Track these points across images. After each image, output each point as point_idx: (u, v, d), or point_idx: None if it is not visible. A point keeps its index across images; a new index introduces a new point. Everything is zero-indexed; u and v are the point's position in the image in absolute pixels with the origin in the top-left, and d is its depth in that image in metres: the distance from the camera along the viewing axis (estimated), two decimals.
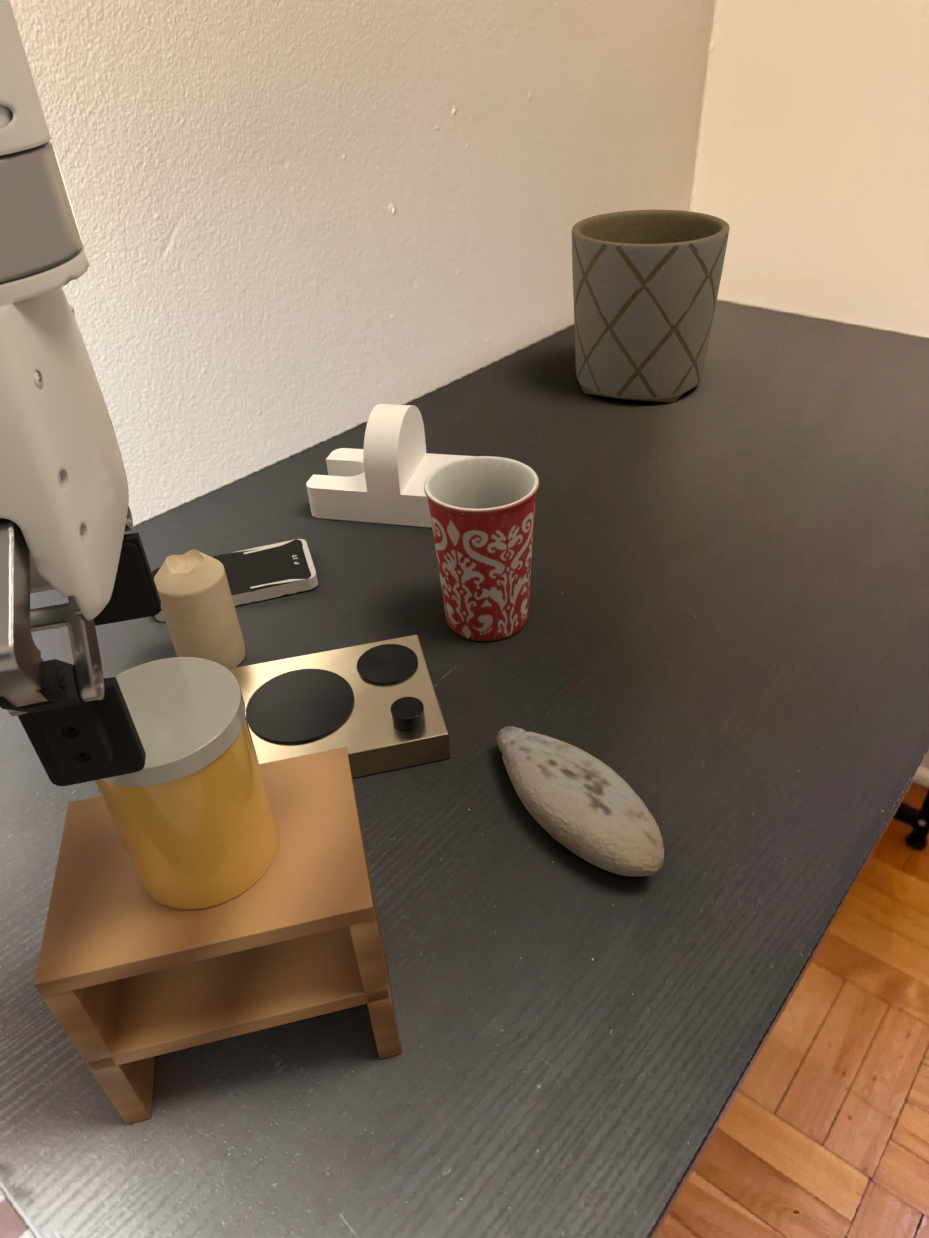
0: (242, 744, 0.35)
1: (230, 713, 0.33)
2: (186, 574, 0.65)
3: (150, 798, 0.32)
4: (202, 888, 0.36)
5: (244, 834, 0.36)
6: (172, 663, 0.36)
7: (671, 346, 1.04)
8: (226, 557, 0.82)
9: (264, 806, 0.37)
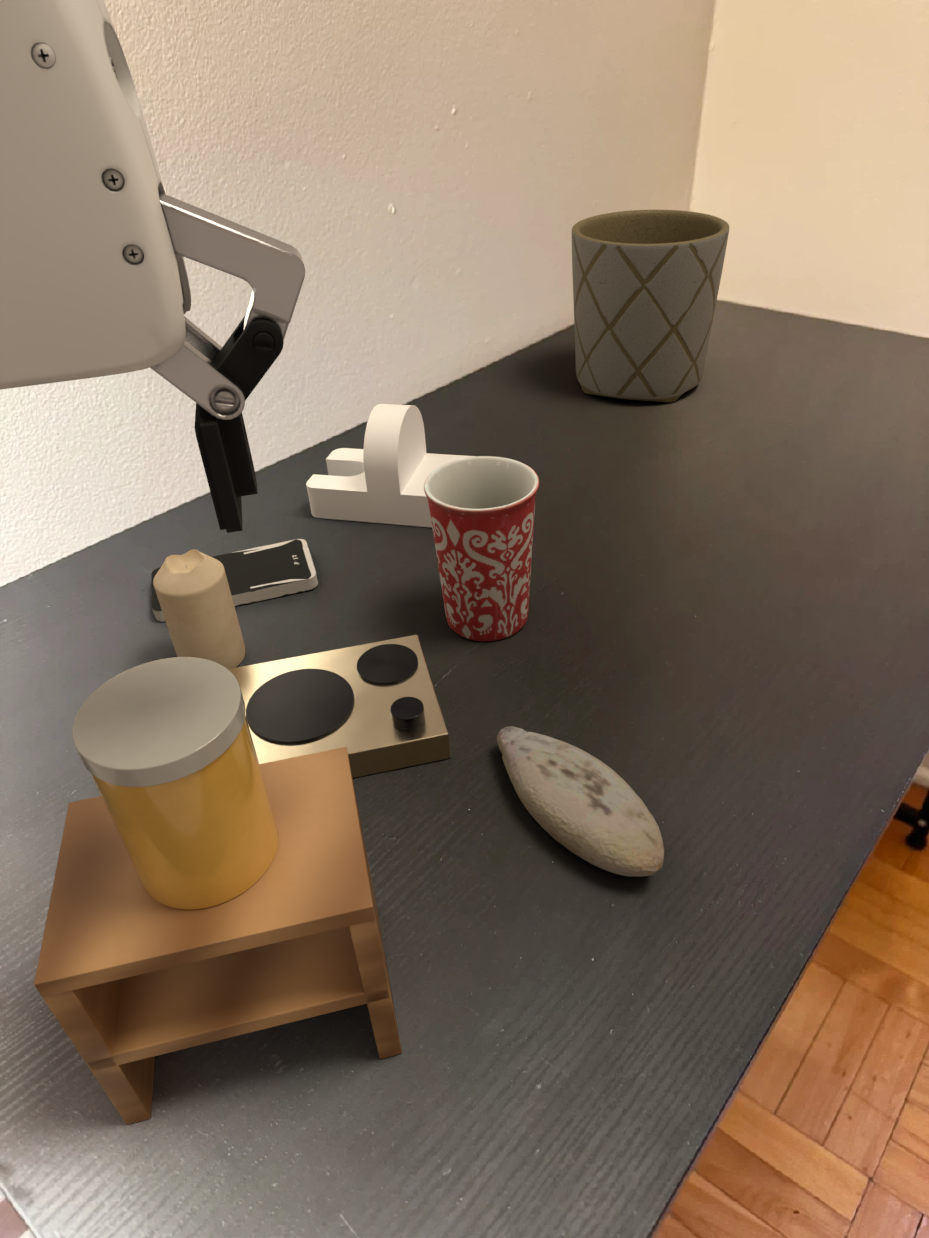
0: (242, 744, 0.35)
1: (230, 713, 0.33)
2: (186, 574, 0.65)
3: (150, 798, 0.32)
4: (202, 888, 0.36)
5: (244, 834, 0.36)
6: (172, 663, 0.36)
7: (671, 346, 1.04)
8: (226, 557, 0.82)
9: (264, 806, 0.37)
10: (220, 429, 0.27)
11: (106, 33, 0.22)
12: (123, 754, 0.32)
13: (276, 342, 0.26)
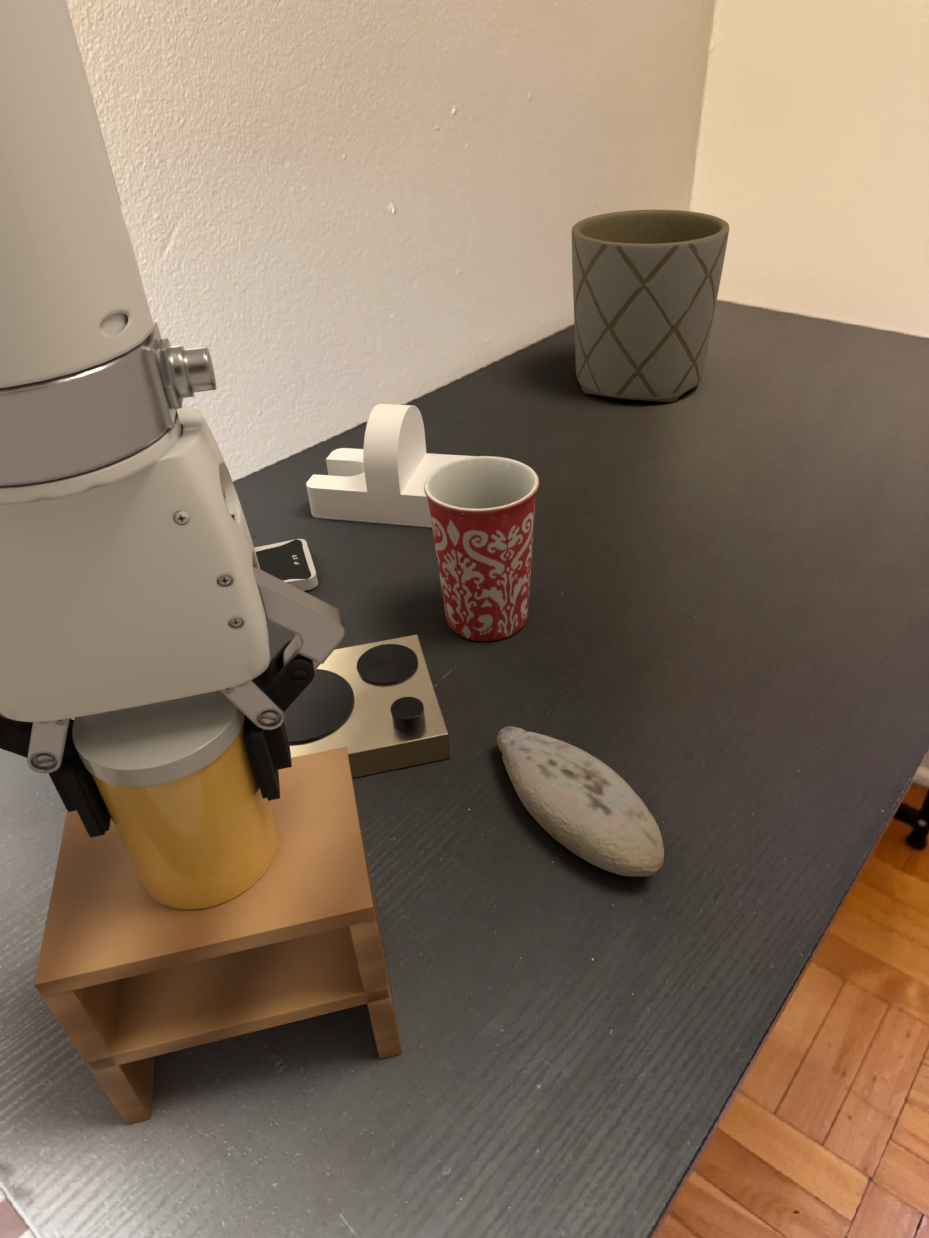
0: (242, 744, 0.35)
1: (230, 713, 0.33)
2: None
3: (150, 798, 0.32)
4: (202, 888, 0.36)
5: (244, 834, 0.36)
6: None
7: (671, 346, 1.04)
8: None
9: (264, 806, 0.37)
10: (264, 731, 0.35)
11: None
12: (123, 754, 0.32)
13: (309, 673, 0.34)
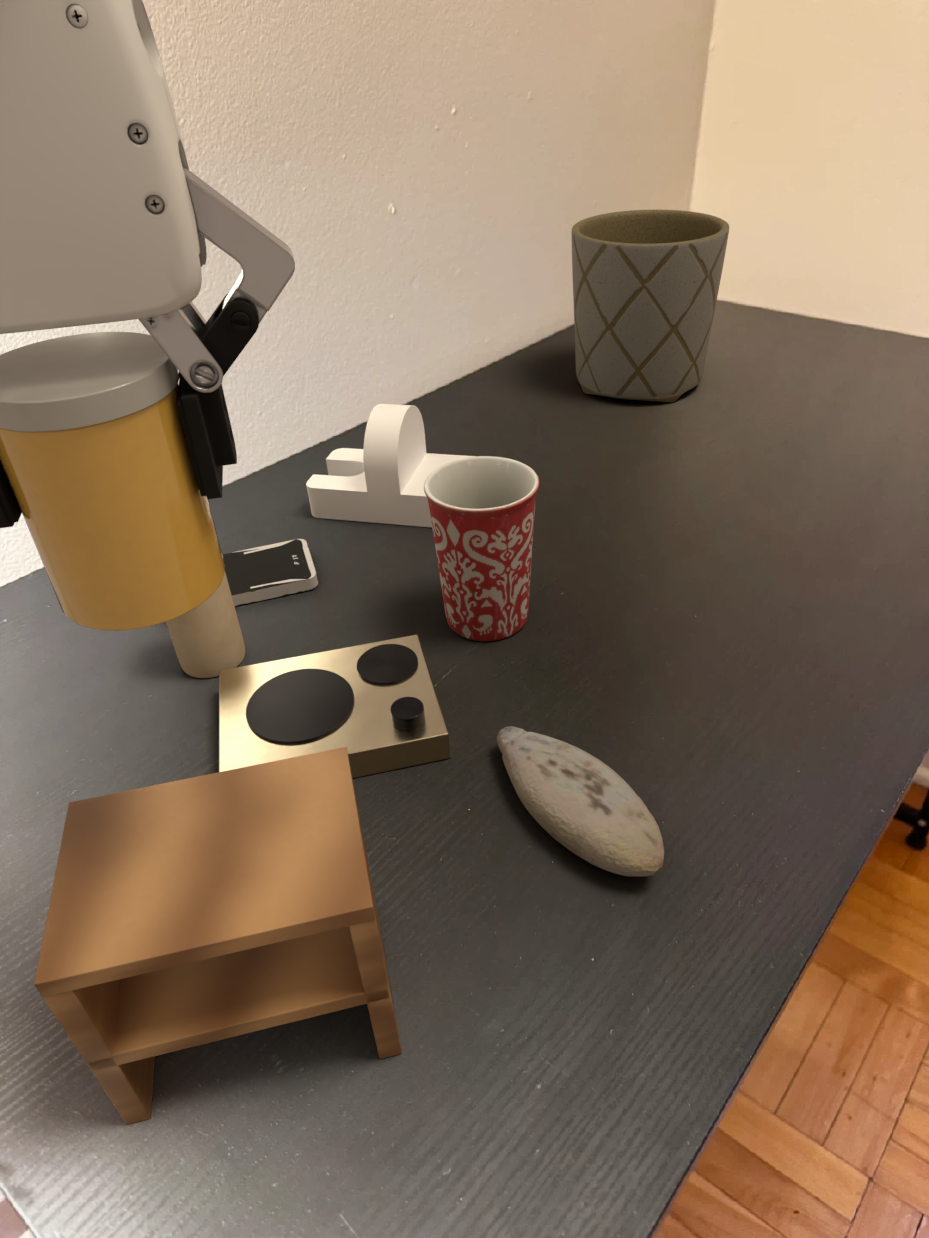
0: (174, 415, 0.29)
1: (157, 364, 0.28)
2: None
3: (57, 452, 0.27)
4: (128, 599, 0.31)
5: (177, 534, 0.30)
6: (96, 336, 0.31)
7: (671, 346, 1.04)
8: (226, 557, 0.82)
9: (204, 515, 0.32)
10: (201, 402, 0.29)
11: None
12: (23, 393, 0.26)
13: (252, 320, 0.28)
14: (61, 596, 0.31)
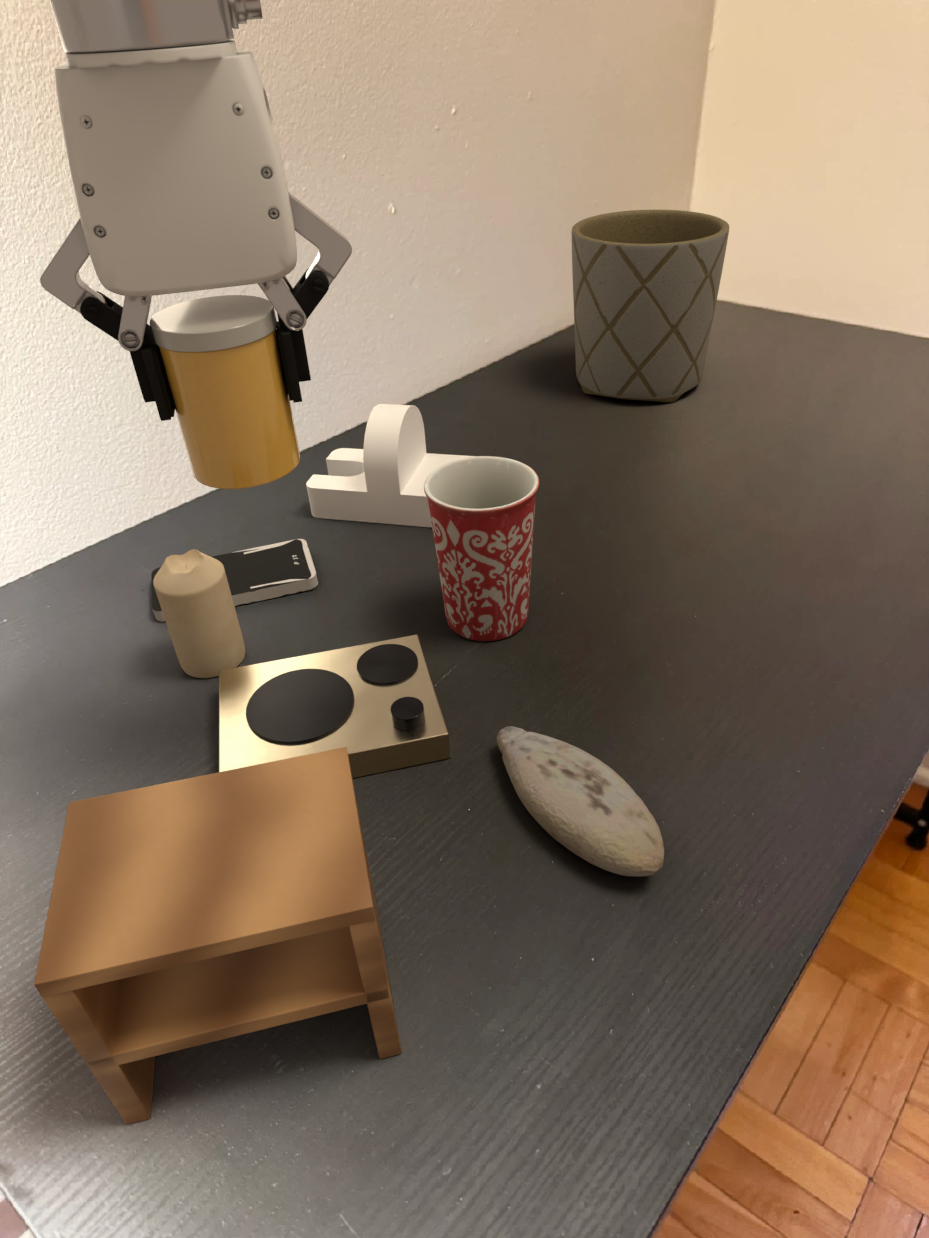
0: (275, 345, 0.46)
1: (266, 312, 0.45)
2: (186, 574, 0.65)
3: (208, 365, 0.44)
4: (244, 466, 0.48)
5: (275, 424, 0.47)
6: (220, 297, 0.48)
7: (671, 346, 1.04)
8: (226, 557, 0.82)
9: (290, 414, 0.49)
10: (291, 337, 0.46)
11: None
12: (189, 328, 0.43)
13: (325, 285, 0.45)
14: (199, 467, 0.48)
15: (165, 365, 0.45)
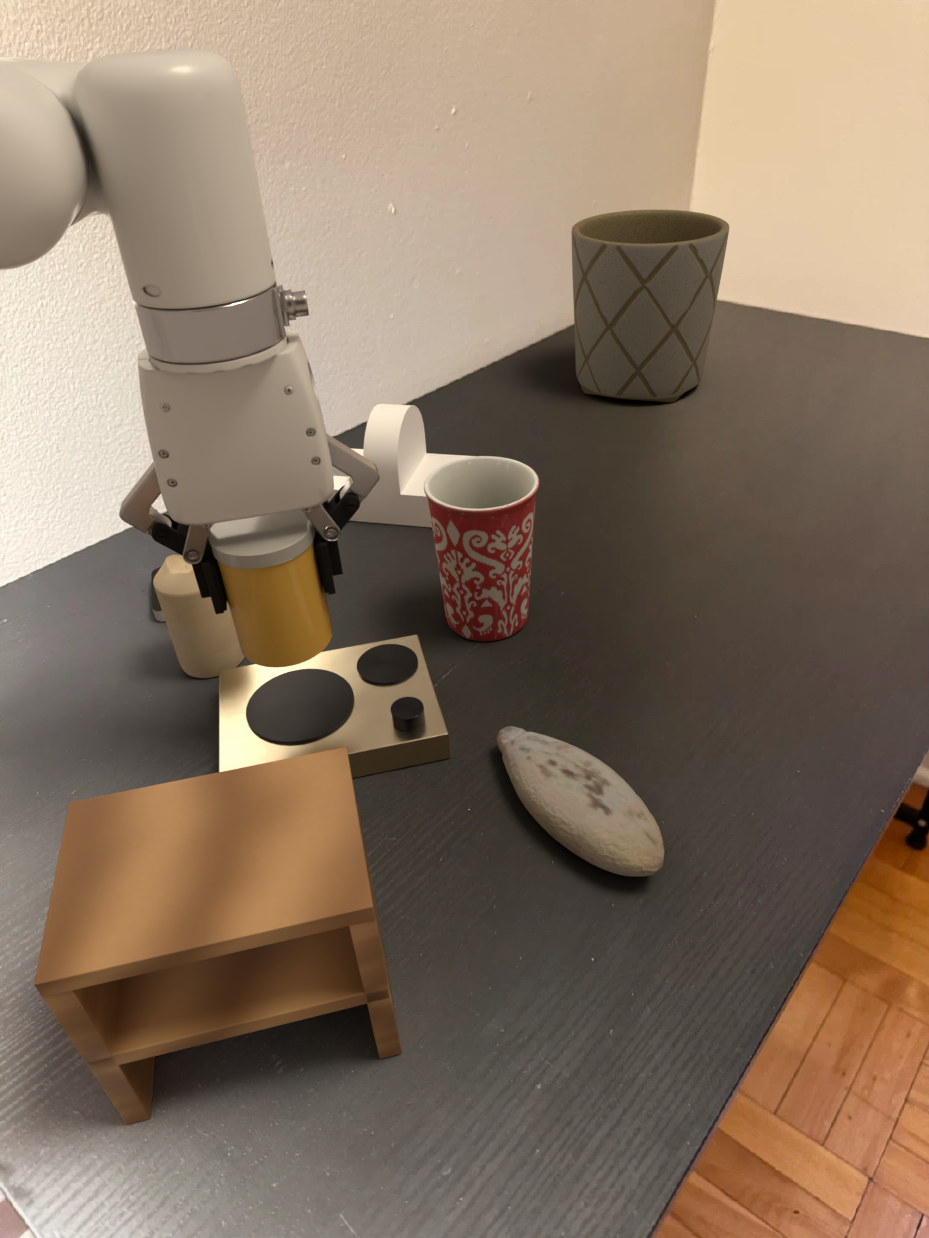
0: (313, 552, 0.54)
1: (307, 528, 0.53)
2: (186, 574, 0.65)
3: (259, 577, 0.52)
4: (286, 650, 0.56)
5: (313, 614, 0.55)
6: None
7: (671, 346, 1.04)
8: None
9: (325, 601, 0.57)
10: (327, 544, 0.54)
11: None
12: (243, 549, 0.52)
13: (356, 504, 0.53)
14: (247, 649, 0.56)
15: (221, 572, 0.53)
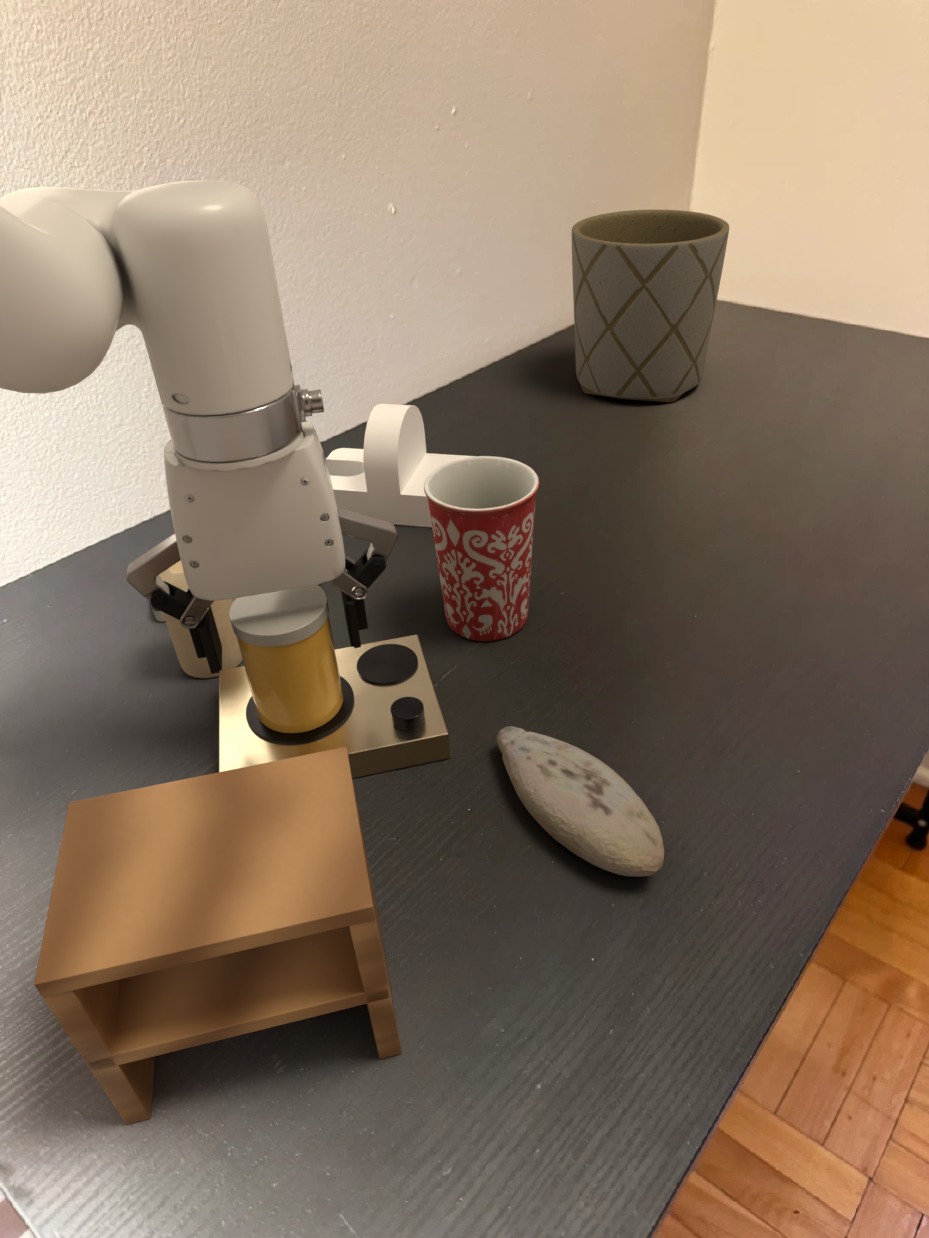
0: (327, 628, 0.58)
1: (321, 607, 0.57)
2: None
3: (277, 654, 0.56)
4: (301, 718, 0.59)
5: (326, 685, 0.59)
6: None
7: (671, 346, 1.04)
8: None
9: (337, 671, 0.61)
10: (354, 602, 0.57)
11: None
12: (262, 628, 0.55)
13: (383, 565, 0.56)
14: (264, 715, 0.60)
15: (241, 647, 0.57)
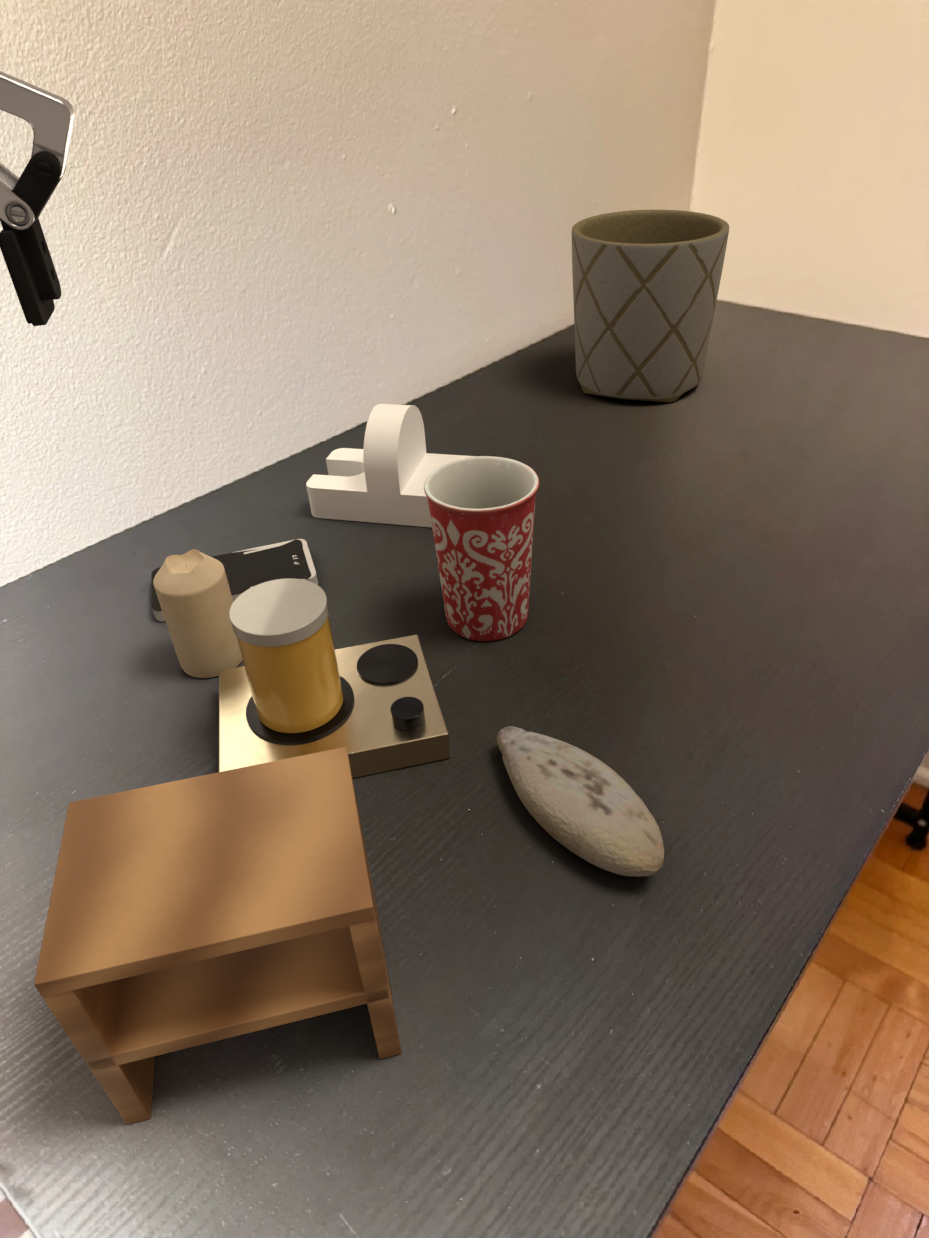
0: (327, 628, 0.58)
1: (321, 607, 0.57)
2: (186, 574, 0.65)
3: (277, 654, 0.56)
4: (301, 718, 0.59)
5: (326, 685, 0.59)
6: (282, 581, 0.59)
7: (671, 346, 1.04)
8: (226, 557, 0.82)
9: (337, 671, 0.61)
10: (19, 240, 0.37)
11: None
12: (262, 628, 0.55)
13: (54, 170, 0.35)
14: (264, 715, 0.60)
15: (241, 647, 0.57)
